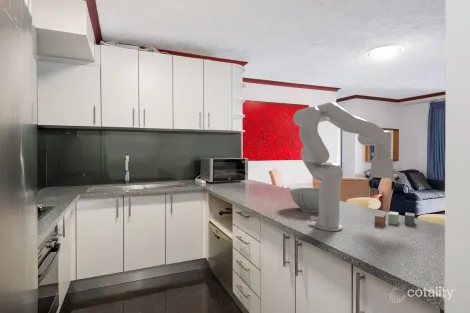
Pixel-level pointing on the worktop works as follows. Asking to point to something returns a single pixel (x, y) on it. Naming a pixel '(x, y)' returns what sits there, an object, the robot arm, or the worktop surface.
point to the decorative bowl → (306, 199)
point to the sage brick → (393, 217)
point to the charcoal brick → (409, 218)
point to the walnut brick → (380, 219)
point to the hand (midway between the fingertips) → (381, 188)
